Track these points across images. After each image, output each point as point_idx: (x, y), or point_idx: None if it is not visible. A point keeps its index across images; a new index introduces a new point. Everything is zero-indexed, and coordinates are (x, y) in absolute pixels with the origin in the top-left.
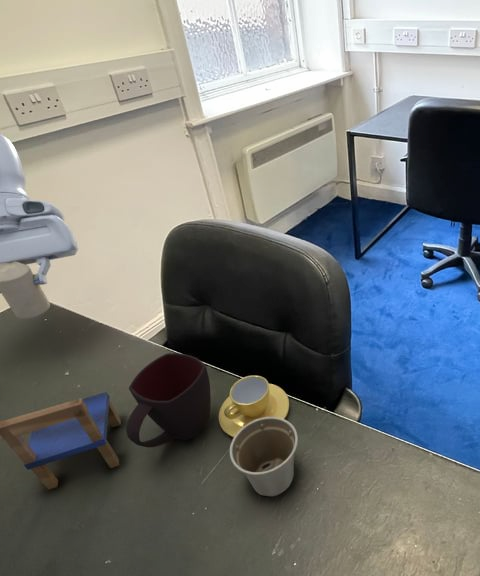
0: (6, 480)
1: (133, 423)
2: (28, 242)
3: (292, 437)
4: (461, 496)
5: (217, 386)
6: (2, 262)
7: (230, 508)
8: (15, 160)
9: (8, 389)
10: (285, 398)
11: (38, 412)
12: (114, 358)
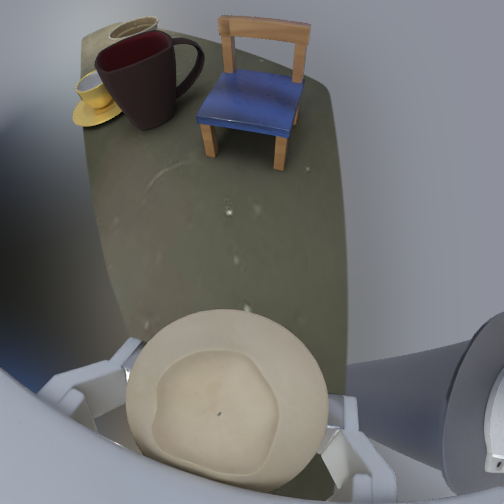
0: (338, 153)
1: (191, 40)
2: (7, 485)
3: (116, 37)
4: (95, 39)
5: (100, 147)
6: (238, 490)
7: (178, 56)
8: None
9: (344, 333)
10: (81, 101)
11: (264, 19)
12: (165, 293)
